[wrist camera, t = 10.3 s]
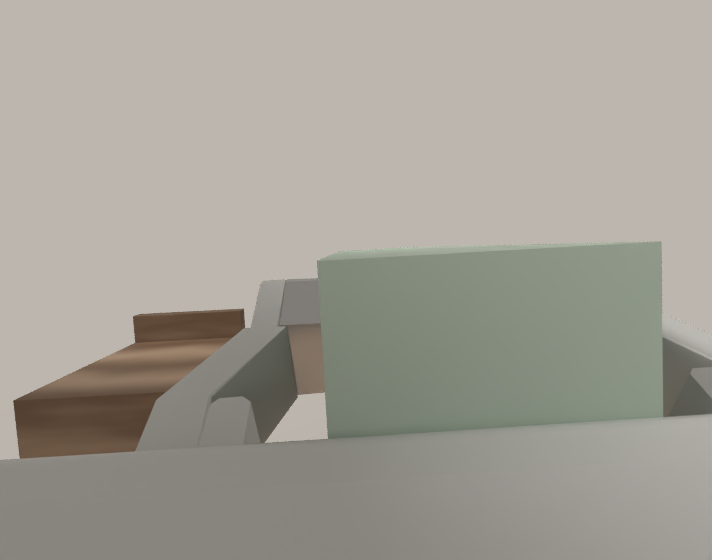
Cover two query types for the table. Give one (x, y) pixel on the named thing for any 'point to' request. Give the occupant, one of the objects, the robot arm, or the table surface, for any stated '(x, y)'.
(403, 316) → the batten
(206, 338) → the stand
